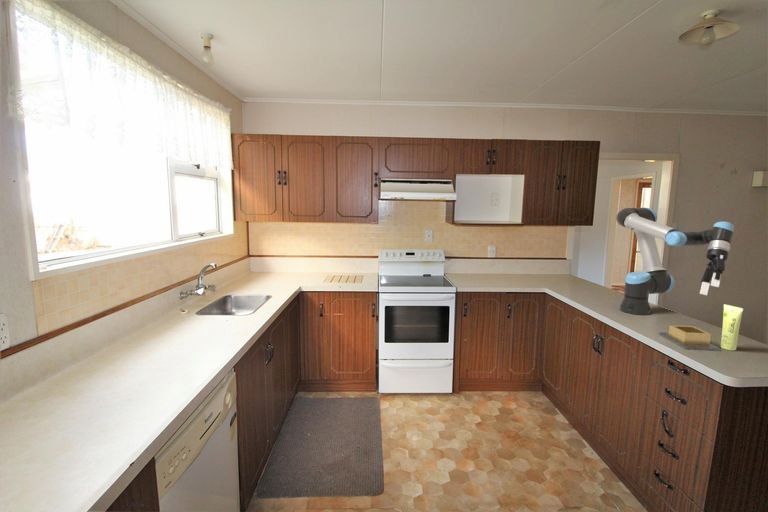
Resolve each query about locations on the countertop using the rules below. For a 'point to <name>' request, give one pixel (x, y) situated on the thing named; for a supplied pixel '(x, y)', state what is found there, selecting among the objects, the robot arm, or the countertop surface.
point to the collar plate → (690, 338)
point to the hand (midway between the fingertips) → (708, 290)
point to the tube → (730, 327)
